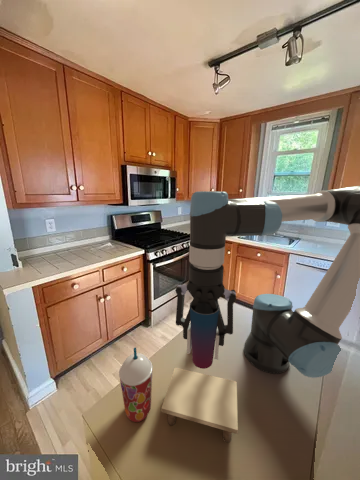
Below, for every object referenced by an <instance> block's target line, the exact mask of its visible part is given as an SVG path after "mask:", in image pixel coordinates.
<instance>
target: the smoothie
mask: <svg viewBox="0 0 360 480" xmlns="http://www.w3.org/2000/svg"><path fill="white" fill-rule="evenodd" d="M118 373H119V374H118V377H119V380H120V381H119V382H120V387H121V394H122V400H123V405H124V413H125V415H126V417H127V418H128V419H129V420H130V421H131V422H134V423H137V422H138V423H139V422H142V421H143V420H145V419H146V418H147V416H148V414H149V413H150V411H151V408H152V390H153V389H152V388H153V386H152V385H153V363H152V361H151V360H150V359H149V358H148V356H146V355H145V354H143V353H141V352H137V347H133V353H132V354H130V355H129V356H127V357H126V358H125V359H124V361H123V362H122V364H121V366H120V368H119V371H118Z"/></svg>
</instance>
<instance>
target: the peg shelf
mask: <svg viewBox="0 0 360 480" xmlns="http://www.w3.org/2000/svg"><path fill="white" fill-rule="evenodd" d="M237 383H238V382H237V380H236V381H235V380H231V379H227V378H223V377H219V376H214V375H209V374H206V373H201V372H198V371H197V372H196V371H193V370H187V369H183V368H179V367H174V369H173V373H172V375H171V378H170V381H169V384H168V387H167V390H166V392H165V396H164V399H163V403H162V406H161V409H160V410H161V413H163V414H167V423H168V425H169V426H173V425H175V424H176V417H177V418H180V419H184V420H187V421H190V422H195V423H198V424H201V425H205V426H209V427H212V428H216V429H219V430H222V439H223V441H224V442H226V443H230V442H231V441H232V436H233V435H232V434H237V435H238V431H239V429H238V428H239V427H238V426H239V425H238V422H239V421H238V386H237V385H238V384H237Z"/></svg>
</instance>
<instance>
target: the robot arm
mask: <svg viewBox="0 0 360 480" xmlns="http://www.w3.org/2000/svg"><path fill="white" fill-rule="evenodd" d="M306 220H307V221H309V220H313V221H315V222H317V223H324V222H325V223H326V222H327V223H328V222H329V223H335V224H339V225H340V224H341V225H346V226H347V229H348V231H349V234H350V235H348V237H347V239H346V241H344V244H343V246H342V247H341V249H340V250H339V251H338V253H337V255H336V256H335V258H334V260H333V262H332V263H331V264H330V266H329V268H328V269H327V271H326V272H325V274H324V275H323V277H322V279H321V280H320V282H319V283H318V285H317V286H316V288H315V290H314V291H313V293H312V294H311V296H310V297H309V299H308V301H307V303H306V304H305V305H304V306H303V307H299V308H298V307H297V308H295V309H294V311H293V310H292V309H293V307H294V306H293V302H292V300H290V299H289V298H287V297H286V296H284V295H283V296H282V295H279V294H273V293H261V294H259V295H257V296H255V298H254V299H253V300H254V301H253V304H252V317H251V327H250V329H251V330H250V332H249V334H248V335H247V338H246V340H245V342H244V345H243V346H244V347H243V353H244V356H245V358H246V359H247V361H249V363H250V364H251V365H252V366H253V367H255V368H257V369H258V370H260V371H263V372H265V373H270V374H282V373H285V372H286V371H287V370H288V369H289V367H290V364H291V366H293V367H294V368H295V369H296V370H297V371H298V372H299V373H300V374H301V375H303V376H305V377H307V378H311V379H317V378H323V377H324V376H327V375H329V374H331V373H332V372H333V371H332V368H333V365H334V362H335V360H336V358H337V355H338V354H339V352H340V351H341V349H342V348H340V347H341V346H340V345H339V343H340V342H341V341H342V339H343V336H342V333H341V331H340V327H341V326H342V325H343V323H344V321H345V320H346V318H347V317H348V315H349V314H350V312H351V311H352V309H351V307H352V304H353V301H354V299H355V296H356V289H357V284H358V281H359V278H360V185H355V186H347V187H342V188H335V189H328V190H318V191H316V192H314V193H313V194H298V195H297V194H296V195H295V194H294V195H282V196H281V195H279V196H278V195H277V196H262V197H246V198H245V197H244V198H229V194H228V193H227V191H209V190H208V191H203V190H202V191H201V190H200V191H195V192H193V193H192V194H191V199H190V208H189V229H190V230H189V250H188V251H189V258H188V261H189V265H188V267H189V268H188V281H187V284H186V283H185V284H183V283H177V286H176V288H175V293H176V294H175V295H176V297H177V300H176V310H175V311H176V312H175V325H177V326H181V327H182V328H183V329H182V337H183V339H184V340H186V354H191V353H192V344H191V323H190V308H188V309H189V310H188V311H187V314H186V317H185V318H184V309H185V308H184V307H185V298H186V297H185V296H186V293H187V291H188V292H189V294H190V295H191V297H192V298H193V299H192V300H191V302H192V304H191V307H192V309H193V310H194V311H195V308H196V306H197V303H206V304H209V305H211V309H212V310H213V313H214V312H216V311H217V310H218V304H219V299H220V298H221V297H222V296H223V295H224V299H225V300H226V301H227V304H226V308H227V310H226V311H227V313H226V314H227V315H226V317H227V318H226V319H227V324H225V322H224V318H223V313H222V312H221V308H220V309H219V314H218V321H217V332H216V340H215V347H214V360H219V351H220V350H219V349H220V347H219V346H221V347H224V345H225V336H226V335H227V334H228V335H233V333H234V304H235V302H236V299H237V292H236V290H235V289H231V290H230V289H227V288H225V285H224V272H225V271H224V270H225V269H224V264H225V251H226V239H227V237H229V238H230V237H249V236H256V237H257V236H259V237H262V236H268V235H273V234H275V233H276V232H278V231H279V229H280V227H281V226H282V222H293V221H296V222H297V221H306ZM350 310H351V311H350ZM331 371H332V372H331Z"/></svg>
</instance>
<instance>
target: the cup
mask: <svg viewBox="0 0 360 480" xmlns="http://www.w3.org/2000/svg"><path fill="white" fill-rule="evenodd" d="M191 304H192V301H191V302H190V303H189V309H190V323H191V344H192V348H191V360H192V363H193V365H194V366H195V367H197V368H199V369H203V370H204V369H208V368H210V367H211V366H212V365H213V362H214V356H215V343H216V332H217V328H218V327H217V321H218V314H219V309H220V310H221V308H220V304H219V303H218V310H217V311H216V312H214V313H213V310H212V309H211V305H209V304H206V303H197V306H196V308H195V311H194V310H193V309H192V307H191ZM190 323H189V324H190Z"/></svg>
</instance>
